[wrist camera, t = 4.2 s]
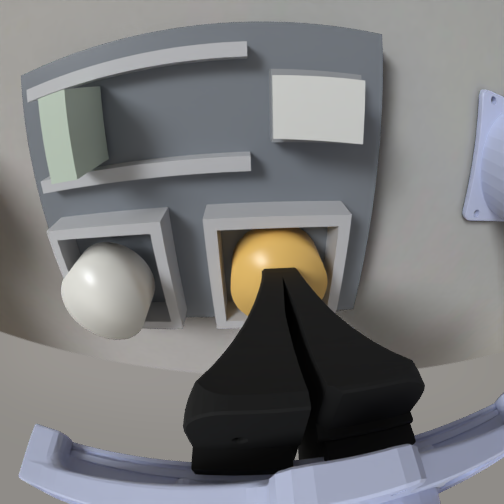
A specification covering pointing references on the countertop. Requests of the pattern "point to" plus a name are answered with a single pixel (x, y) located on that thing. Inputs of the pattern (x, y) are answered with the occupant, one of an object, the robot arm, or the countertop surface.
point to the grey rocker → (318, 108)
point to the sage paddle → (73, 132)
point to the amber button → (273, 262)
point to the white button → (109, 291)
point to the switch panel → (211, 158)
